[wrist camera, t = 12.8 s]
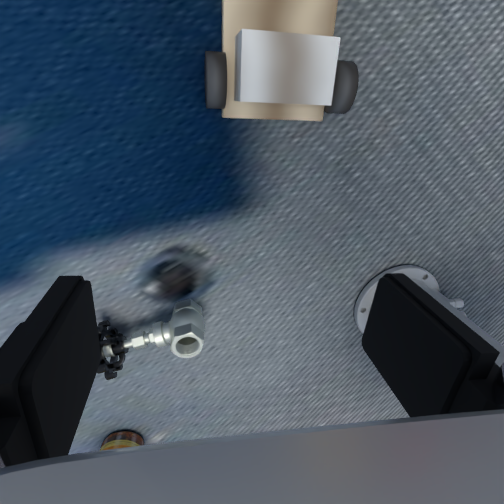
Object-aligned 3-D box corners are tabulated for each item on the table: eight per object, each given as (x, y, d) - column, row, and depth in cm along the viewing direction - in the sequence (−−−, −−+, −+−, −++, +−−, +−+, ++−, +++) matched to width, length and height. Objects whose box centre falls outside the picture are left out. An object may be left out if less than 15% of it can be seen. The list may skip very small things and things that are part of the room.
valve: (195, 284, 39) (98, 311, 38) (197, 317, 34) (82, 349, 33) (209, 325, 42) (119, 350, 42) (213, 362, 37) (108, 392, 36)
